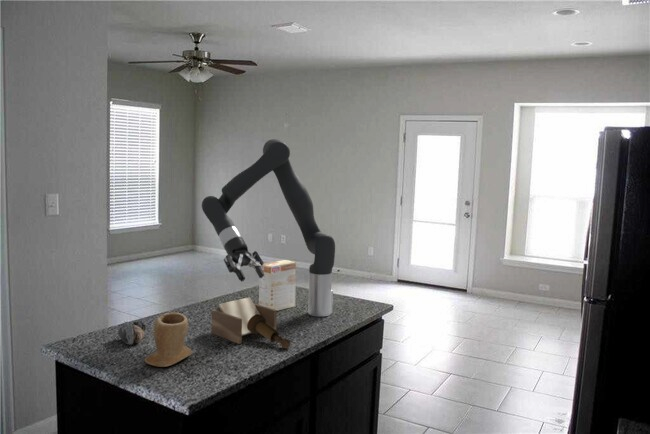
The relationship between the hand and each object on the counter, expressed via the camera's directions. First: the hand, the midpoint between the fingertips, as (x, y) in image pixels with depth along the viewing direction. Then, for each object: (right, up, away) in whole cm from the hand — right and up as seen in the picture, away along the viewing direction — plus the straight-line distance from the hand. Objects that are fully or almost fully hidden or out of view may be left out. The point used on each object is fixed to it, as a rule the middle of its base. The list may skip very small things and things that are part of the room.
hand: (253, 278), depth 194 cm
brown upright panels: (-4, -20, +5) cm, 21 cm away
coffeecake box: (+5, -17, +40) cm, 44 cm away
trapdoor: (-7, -18, +8) cm, 21 cm away
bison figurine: (-39, -21, -6) cm, 45 cm away
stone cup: (-22, -23, -24) cm, 40 cm away
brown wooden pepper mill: (0, -16, +1) cm, 16 cm away
